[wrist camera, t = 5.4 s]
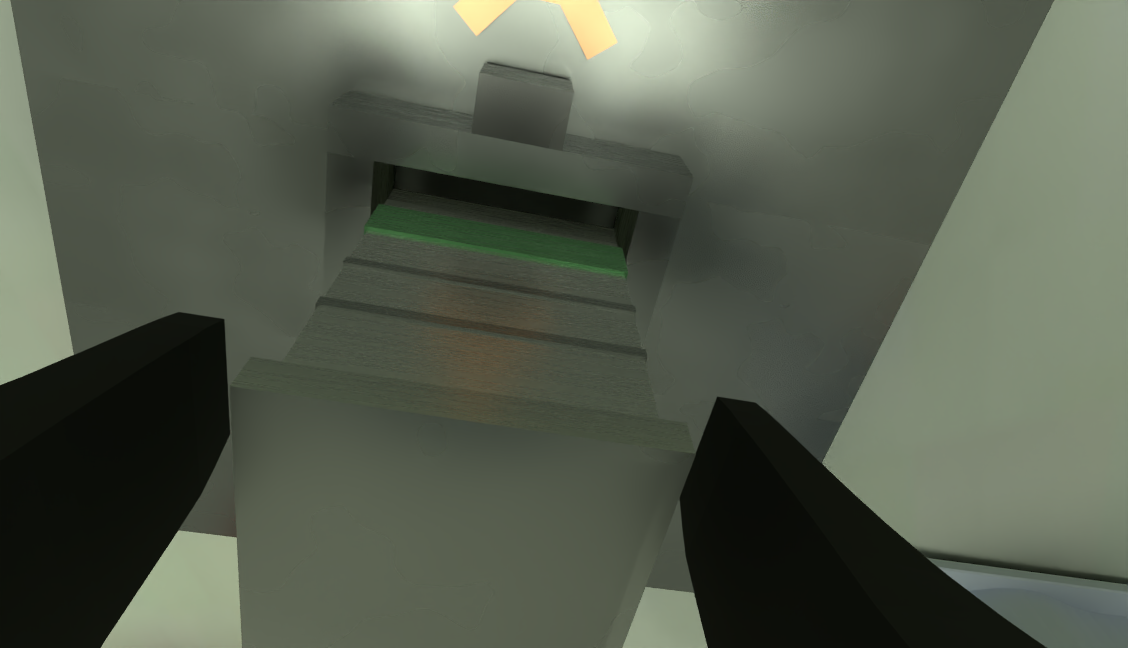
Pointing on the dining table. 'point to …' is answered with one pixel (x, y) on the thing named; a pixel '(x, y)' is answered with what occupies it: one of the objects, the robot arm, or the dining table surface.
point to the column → (456, 444)
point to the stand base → (524, 166)
